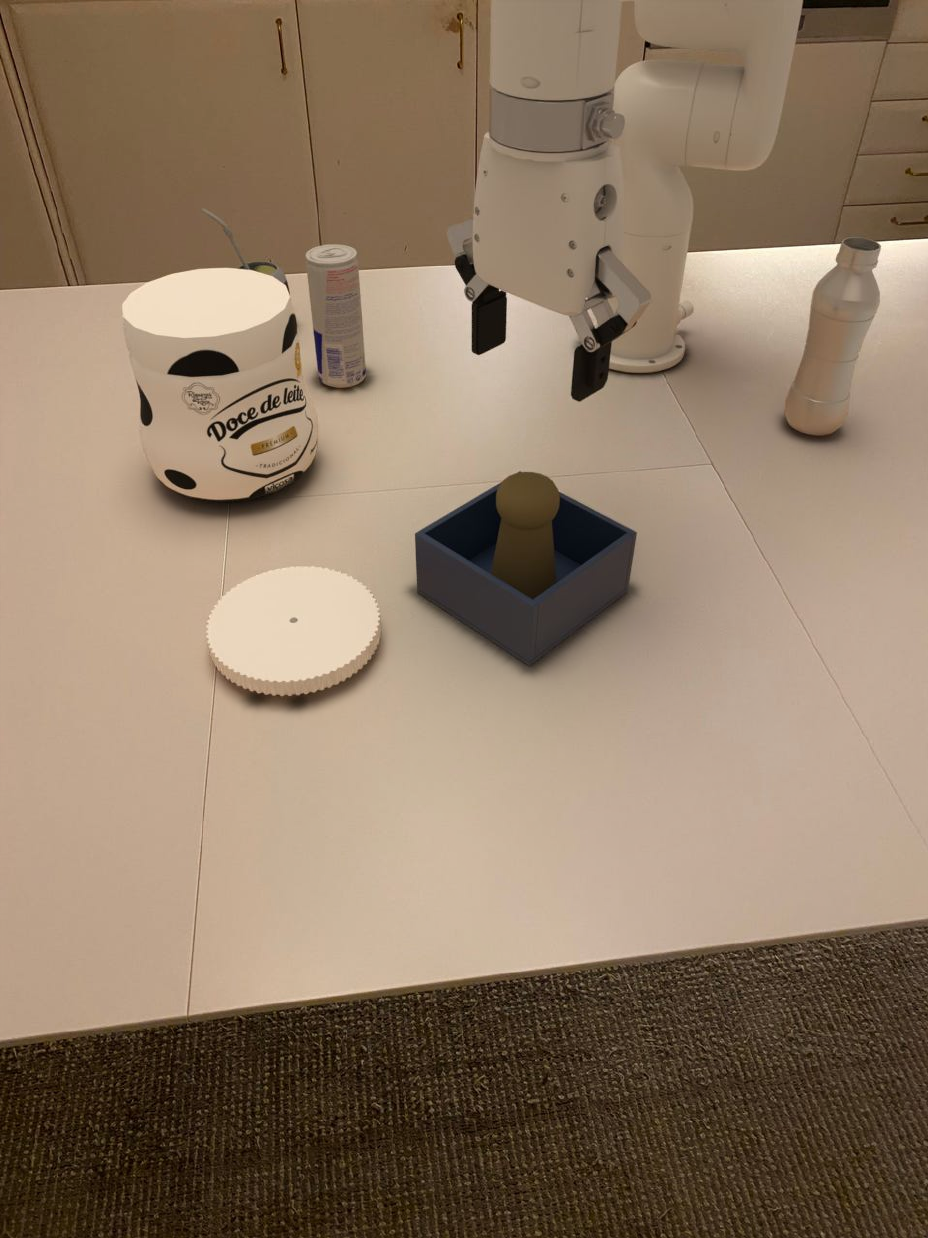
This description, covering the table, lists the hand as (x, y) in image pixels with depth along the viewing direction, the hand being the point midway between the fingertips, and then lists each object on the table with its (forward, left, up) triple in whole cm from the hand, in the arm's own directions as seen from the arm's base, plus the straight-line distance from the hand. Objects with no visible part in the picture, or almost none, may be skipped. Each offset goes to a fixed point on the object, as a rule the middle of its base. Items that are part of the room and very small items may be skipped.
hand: (536, 369), depth 70 cm
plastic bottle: (-42, +4, -21) cm, 48 cm away
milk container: (+7, -34, -21) cm, 40 cm away
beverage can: (-13, -41, -21) cm, 48 cm away
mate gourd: (-14, -58, -21) cm, 63 cm away
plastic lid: (+19, -9, -21) cm, 29 cm away
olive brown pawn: (+1, 0, -21) cm, 21 cm away
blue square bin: (+1, 0, -21) cm, 21 cm away
